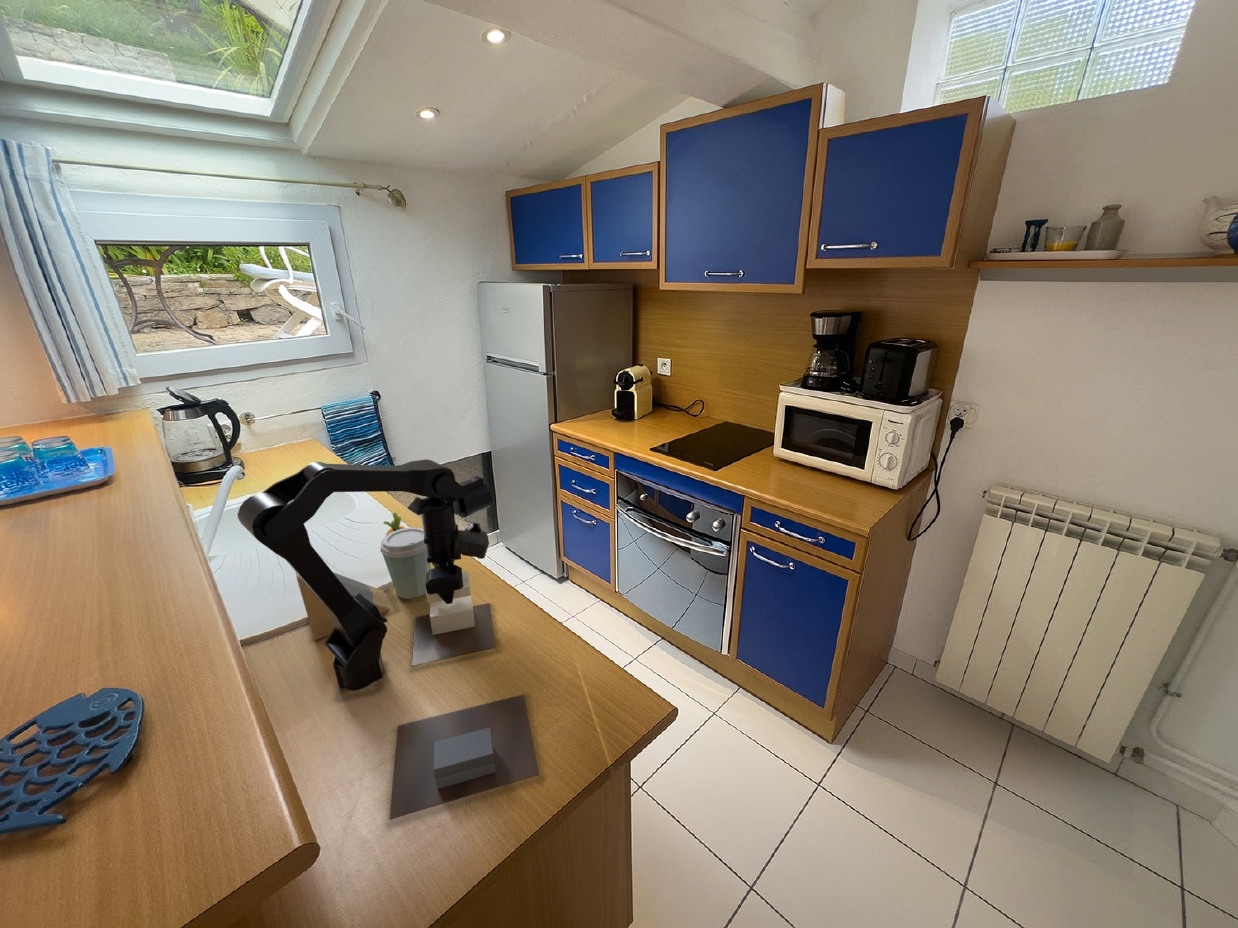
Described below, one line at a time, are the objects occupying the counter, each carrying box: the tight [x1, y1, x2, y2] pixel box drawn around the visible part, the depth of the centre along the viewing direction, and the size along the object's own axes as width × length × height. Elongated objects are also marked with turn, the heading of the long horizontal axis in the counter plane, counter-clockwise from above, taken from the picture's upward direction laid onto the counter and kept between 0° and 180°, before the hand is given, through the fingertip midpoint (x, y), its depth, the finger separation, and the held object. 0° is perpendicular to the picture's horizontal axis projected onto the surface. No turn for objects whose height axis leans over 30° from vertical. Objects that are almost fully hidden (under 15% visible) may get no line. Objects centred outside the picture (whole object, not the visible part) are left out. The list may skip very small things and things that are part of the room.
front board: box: [389, 694, 540, 820], centre depth 75 cm, size 20×15×1 cm
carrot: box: [383, 512, 406, 537], centre depth 116 cm, size 5×5×15 cm
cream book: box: [425, 570, 472, 604], centre depth 97 cm, size 8×6×2 cm
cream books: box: [429, 595, 475, 635], centre depth 100 cm, size 8×6×4 cm
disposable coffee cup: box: [380, 526, 432, 600], centre depth 108 cm, size 11×11×15 cm
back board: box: [411, 602, 497, 667], centre depth 98 cm, size 15×14×1 cm
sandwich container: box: [295, 571, 391, 641], centre depth 101 cm, size 9×15×15 cm, turn 126°
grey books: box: [434, 728, 495, 789], centre depth 71 cm, size 8×4×4 cm, turn 109°
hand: (449, 594), depth 98 cm, fingers closed on cream book, 5 cm apart
